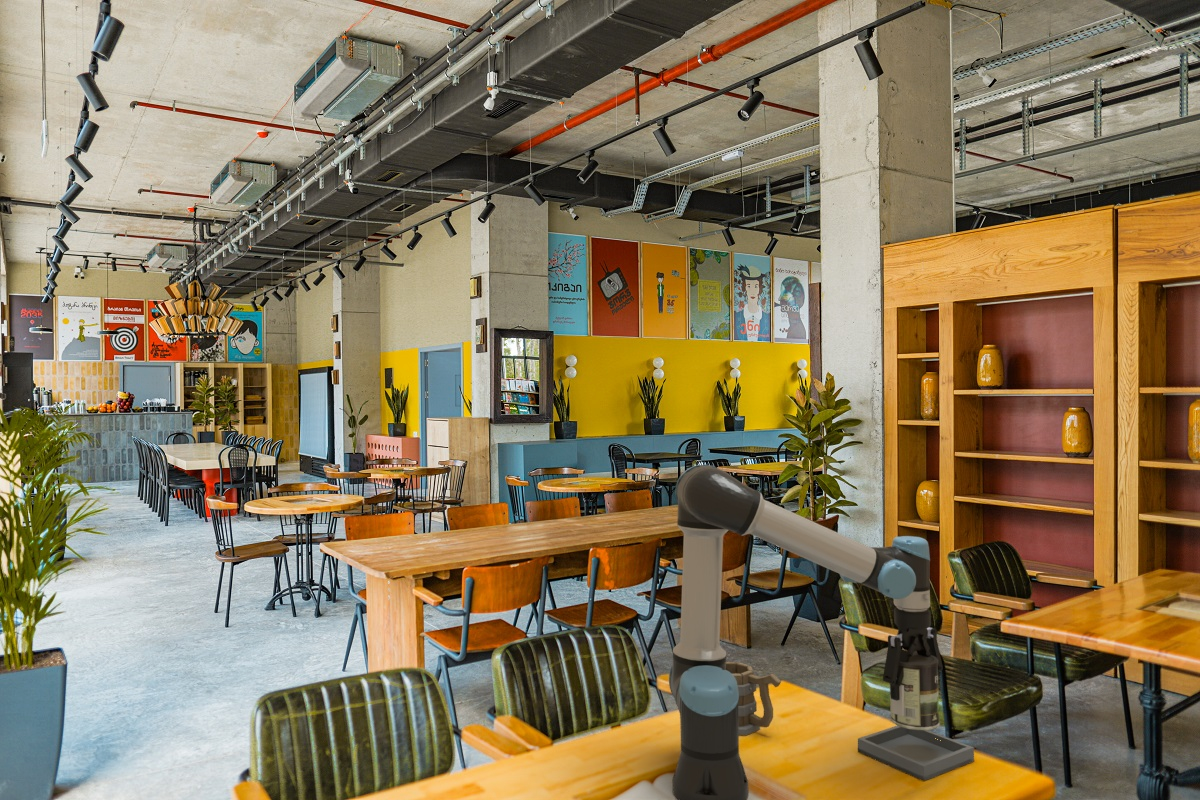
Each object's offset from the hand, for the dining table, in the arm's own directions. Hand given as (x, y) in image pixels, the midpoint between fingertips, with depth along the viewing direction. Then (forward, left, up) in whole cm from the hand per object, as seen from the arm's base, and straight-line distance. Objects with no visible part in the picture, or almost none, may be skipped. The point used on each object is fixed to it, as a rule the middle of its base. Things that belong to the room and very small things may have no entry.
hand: (914, 709), depth 176 cm
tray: (0, 0, -10) cm, 10 cm away
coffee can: (0, 0, -3) cm, 3 cm away
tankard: (-21, +32, -11) cm, 40 cm away
